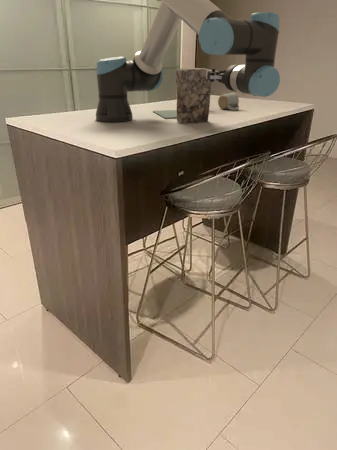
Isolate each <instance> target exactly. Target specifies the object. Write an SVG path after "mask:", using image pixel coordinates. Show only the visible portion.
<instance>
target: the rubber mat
mask: <svg viewBox="0 0 337 450" xmlns="http://www.w3.org/2000/svg"><path fill="white" fill-rule="evenodd" d="M152 113H154V114H156V116H160V117H161V118H163V119H165V120H169V119H171V120H172V119H173V120H174V119H177V109H170V110H169V109H168V110H163V109H162V110H152Z"/></svg>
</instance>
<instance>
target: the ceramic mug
mask: <svg viewBox="0 0 337 450" xmlns="http://www.w3.org/2000/svg"><path fill="white" fill-rule="evenodd" d="M239 102H240V101H239V96H238V94H237V93H235V92H230V93H224V94H221V95H220V96H219V97H218V100H217V103H218V108H220V110H224V109H225V110H230V111H233V112H236V111H235V110H237V111H238V110H239V108H240V105H239Z"/></svg>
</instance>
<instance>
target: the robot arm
mask: <svg viewBox="0 0 337 450" xmlns="http://www.w3.org/2000/svg"><path fill="white" fill-rule="evenodd" d="M156 1H157V2H160V5H159V6H158V9H157V12H156V14H155V16H154V19H153V21H152V24H151V26H150V29H149V31H148V33H147V36H146V38H145V41H144V43H143V45H142V48H141V50H139V51H137V52H136V53H135V55H134V57H133V59H132V60H127V59H126V56H114V57H113V56H112V57H106V58H100V59H99V60H97V62H96V72H95V73H96V80H97V92H98V93H97V95H98V102H97V106H96V112H95V120H96V121H98V122H104V123H106V122H107V123H121V122H122V123H124V122H129V121H132V120H133V112H132V109H131V106H130V103H129V100H128V92H129V93H130V92H150V91H155V90H157V89H158V88H159V87H161V84H162V82H163V78H164V77H163V76H164V67H163V65H162V61H163V59H164V57H165V54H166V53H167V51H168V49H169V47H170V44H171V43H172V40H173V39H174V36H175V34H176V33H177V30H178V28H179V26H180V24H181V21H182V22H184V24H186V25H187V26H188V27H189V28H190V29H191V30H193V31H194V32H195V33H196V35H198V42H199V43H198V44H199V45H200V49H201V50H202V51H203V52H204V53H205V54H207V55H214V56H225V55H226V56H245V64H244V63H243V64H240V63H239V64H237V63H235V64H231V65H230V66H228V68H227V69H226V70H219V71H218V70H216V69H215V68H212V69H210V70H206V78H207V80H210V81H211V83H213V82H216V81H217V82H219V83H220V84H223V85H224V86H225V87H226V89H227V90H229V91H231V92H234V93H235V92H236V93H241V95H242V96H246V95H250V96H253V97H263V98H265V97H266V98H267V97H269V96H272V95H273V94H275V92H276V91H277V90H278V88H279V86H280V82H281V76H280V74H279V70H278V68H276V67H275V63H276V62H275V59H276V52H277V45H278V39H279V35H280V19H281V17H280V14H279V13H278V12H271V11H267V12H266V11H263V12H262V11H259V12H254V13H253V12H252V13H251V14H250V16H249V20H248V19H246V20H245V19H244V20H242V19H234V18H232V17H230V16H229V15H227V14H226V13H225V12H224V11H223V10H221V9H220V8H219V6H217V5H216V4H214V3H213V2H212V1H211V0H156Z"/></svg>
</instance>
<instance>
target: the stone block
mask: <svg viewBox="0 0 337 450" xmlns="http://www.w3.org/2000/svg"><path fill="white" fill-rule="evenodd" d="M206 70H211V69H209V68H204V67H202V68H201V67H200V68H199V67H185V68H184V67H183V68H179V69H177V70H176V72H175V73H176V77H175V83H176V110H177V118H176V122H178V123H180V124H192V123H194V124H195V123H203V122H209V114H210V107H211V93H212V92H211V91H212V90H211V87H212V82H211V81H210V80H207V78H206Z"/></svg>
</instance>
